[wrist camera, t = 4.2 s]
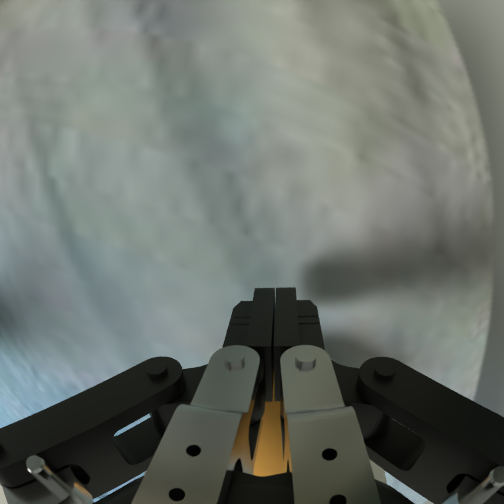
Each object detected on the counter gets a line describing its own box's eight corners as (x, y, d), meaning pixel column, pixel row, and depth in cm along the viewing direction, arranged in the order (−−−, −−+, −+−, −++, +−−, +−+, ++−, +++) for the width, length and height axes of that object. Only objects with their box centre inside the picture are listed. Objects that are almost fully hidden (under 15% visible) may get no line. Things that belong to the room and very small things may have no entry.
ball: (170, 496, 9) (203, 450, 15) (319, 512, 8) (307, 459, 14) (175, 365, 10) (210, 354, 16) (340, 378, 10) (318, 363, 16)
